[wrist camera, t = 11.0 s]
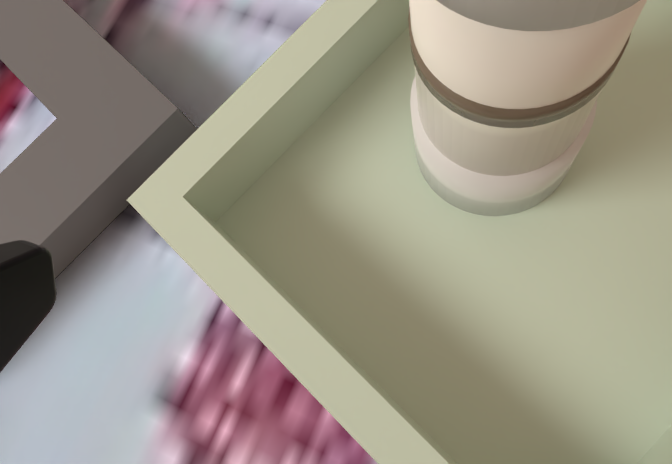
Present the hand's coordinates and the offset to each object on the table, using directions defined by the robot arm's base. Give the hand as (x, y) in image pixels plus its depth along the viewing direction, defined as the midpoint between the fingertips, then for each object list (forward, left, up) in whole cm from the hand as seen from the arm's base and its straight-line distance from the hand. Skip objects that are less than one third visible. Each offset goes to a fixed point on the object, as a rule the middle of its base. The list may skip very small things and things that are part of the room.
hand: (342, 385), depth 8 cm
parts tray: (+1, -8, -11) cm, 14 cm away
